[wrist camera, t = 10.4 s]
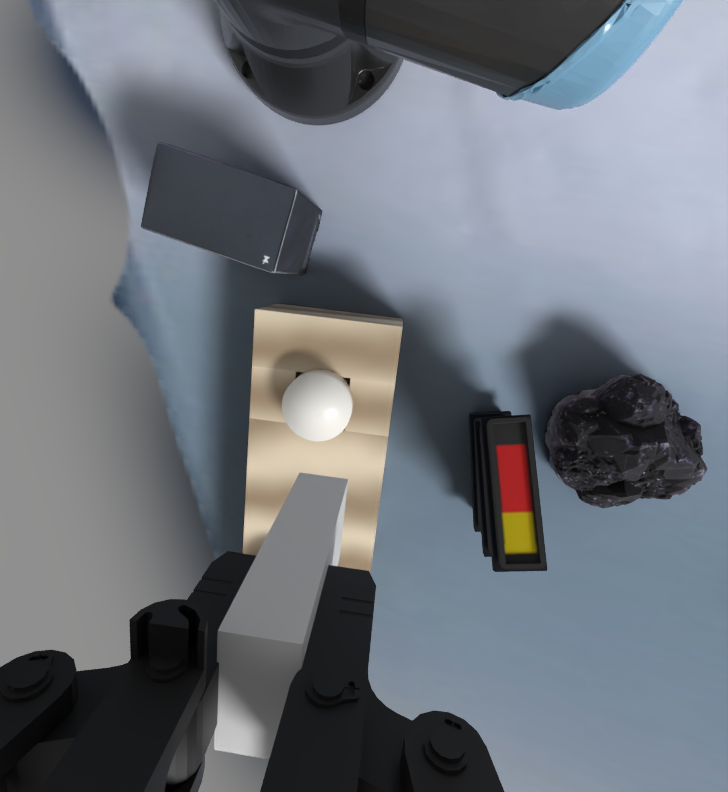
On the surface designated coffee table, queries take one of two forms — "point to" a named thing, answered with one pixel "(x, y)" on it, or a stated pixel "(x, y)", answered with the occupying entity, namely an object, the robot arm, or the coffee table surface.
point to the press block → (338, 457)
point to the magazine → (506, 491)
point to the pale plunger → (318, 404)
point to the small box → (229, 212)
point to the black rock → (624, 443)
